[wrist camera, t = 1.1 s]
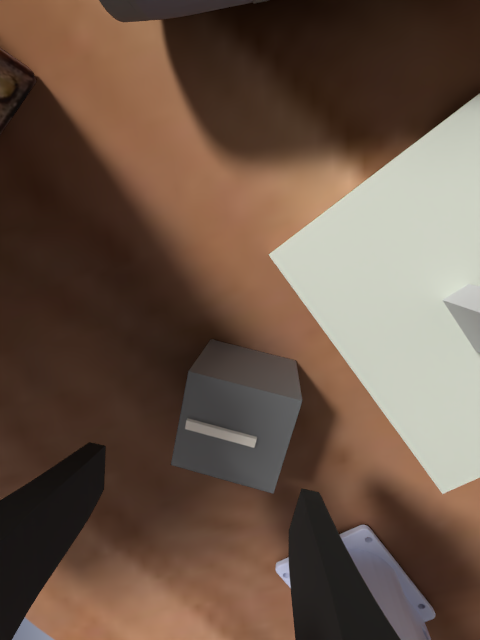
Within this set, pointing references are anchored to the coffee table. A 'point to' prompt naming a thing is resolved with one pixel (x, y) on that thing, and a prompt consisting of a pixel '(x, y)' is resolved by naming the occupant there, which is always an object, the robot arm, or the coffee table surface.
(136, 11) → the bluetooth speaker
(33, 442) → the coffee table surface
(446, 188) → the plate
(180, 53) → the coffee table surface
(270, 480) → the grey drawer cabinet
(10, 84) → the book
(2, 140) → the coffee table surface
